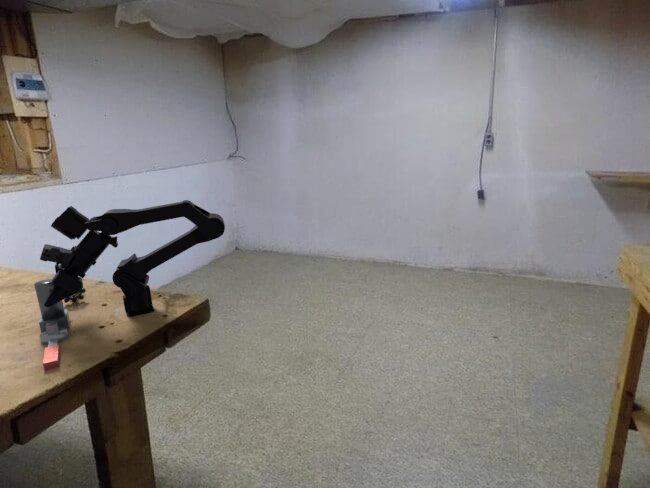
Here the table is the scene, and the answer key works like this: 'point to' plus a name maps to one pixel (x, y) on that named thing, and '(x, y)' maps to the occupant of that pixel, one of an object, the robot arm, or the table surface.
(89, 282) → the table surface
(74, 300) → the valve
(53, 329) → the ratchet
